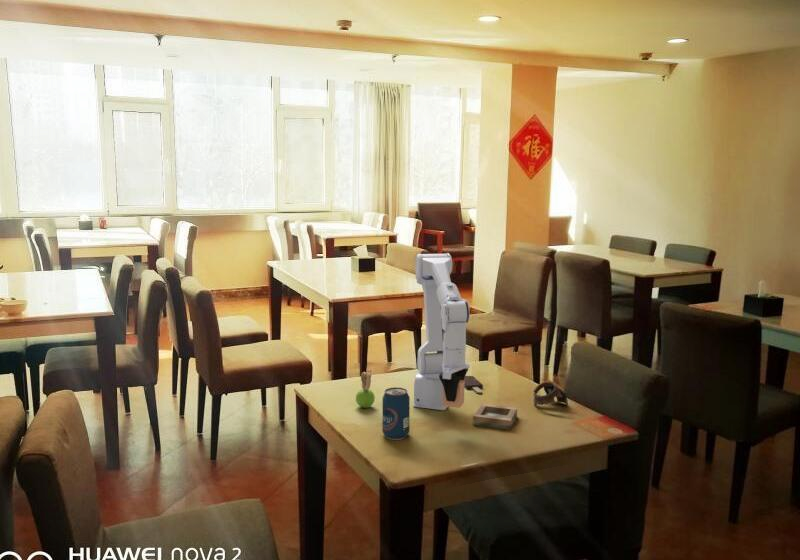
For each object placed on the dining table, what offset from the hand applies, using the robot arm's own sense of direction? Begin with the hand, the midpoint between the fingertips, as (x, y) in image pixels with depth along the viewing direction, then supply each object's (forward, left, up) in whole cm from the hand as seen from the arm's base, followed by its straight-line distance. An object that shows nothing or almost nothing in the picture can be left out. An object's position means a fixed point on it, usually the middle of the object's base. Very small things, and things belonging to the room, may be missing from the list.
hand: (453, 397), depth 175 cm
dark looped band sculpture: (+22, +29, -9) cm, 37 cm away
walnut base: (+9, +11, -9) cm, 17 cm away
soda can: (-13, -8, -9) cm, 18 cm away
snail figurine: (-28, +8, -9) cm, 31 cm away
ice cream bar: (-4, +37, -10) cm, 39 cm away
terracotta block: (0, 0, -2) cm, 2 cm away
